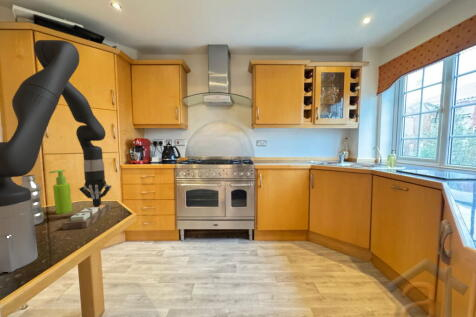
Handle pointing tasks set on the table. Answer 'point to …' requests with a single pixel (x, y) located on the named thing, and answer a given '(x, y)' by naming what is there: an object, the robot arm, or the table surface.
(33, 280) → the table surface
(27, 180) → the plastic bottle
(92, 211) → the three dot button
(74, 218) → the two dot button
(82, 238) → the table surface
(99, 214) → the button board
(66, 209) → the soap dispenser
